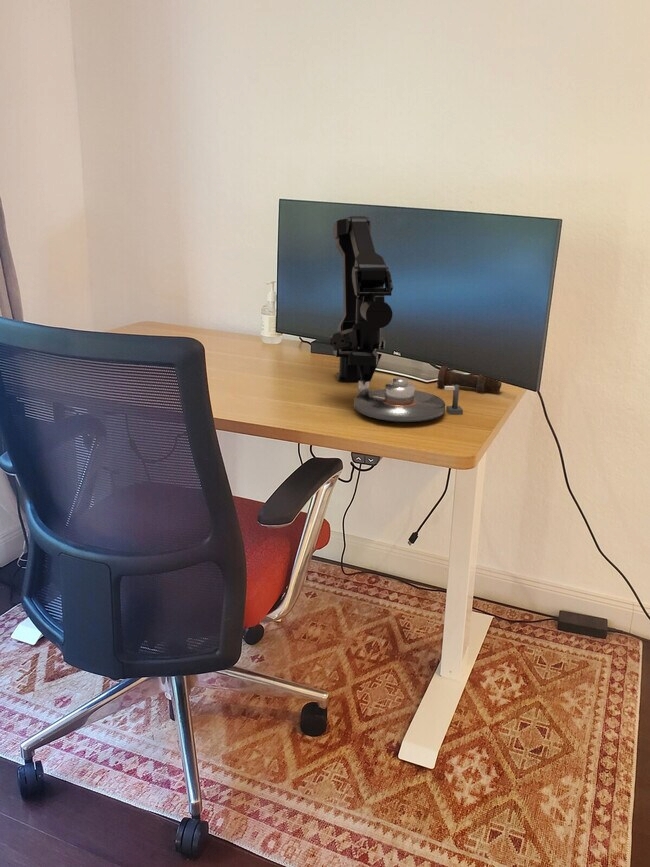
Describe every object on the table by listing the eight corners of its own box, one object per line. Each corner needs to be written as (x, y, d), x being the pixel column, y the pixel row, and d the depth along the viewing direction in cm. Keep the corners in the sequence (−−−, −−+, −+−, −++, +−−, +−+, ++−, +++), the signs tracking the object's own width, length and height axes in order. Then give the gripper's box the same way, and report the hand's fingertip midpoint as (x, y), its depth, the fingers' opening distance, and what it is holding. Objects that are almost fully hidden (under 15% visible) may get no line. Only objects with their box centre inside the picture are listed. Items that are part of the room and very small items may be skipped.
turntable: (458, 403, 170) (460, 384, 168) (422, 428, 154) (424, 407, 152) (378, 388, 179) (379, 370, 178) (336, 410, 163) (337, 391, 162)
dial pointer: (441, 410, 169) (443, 383, 167) (459, 410, 169) (461, 383, 167) (444, 414, 166) (446, 387, 164) (462, 414, 167) (465, 387, 164)
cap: (383, 396, 169) (384, 375, 167) (411, 396, 169) (412, 375, 167) (386, 405, 163) (387, 383, 161) (416, 405, 163) (417, 383, 161)
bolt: (497, 401, 182) (437, 391, 187) (502, 387, 185) (442, 377, 190) (498, 384, 178) (436, 375, 183) (503, 370, 181) (442, 361, 186)
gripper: (339, 309, 177) (338, 373, 183) (325, 325, 160) (323, 395, 165) (386, 312, 176) (383, 376, 181) (377, 328, 158) (374, 399, 164)
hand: (365, 386), depth 173 cm, fingers closed
